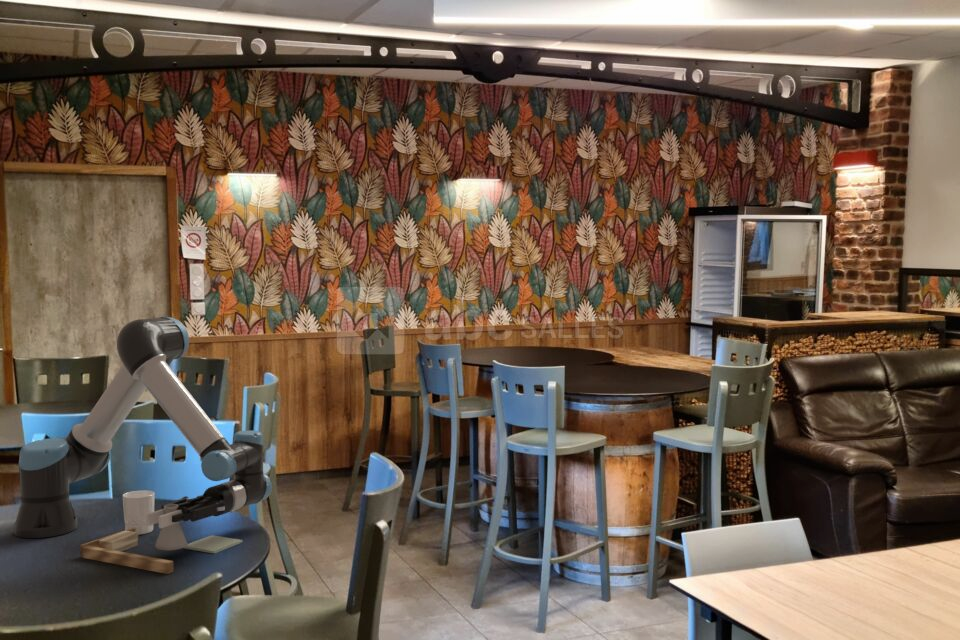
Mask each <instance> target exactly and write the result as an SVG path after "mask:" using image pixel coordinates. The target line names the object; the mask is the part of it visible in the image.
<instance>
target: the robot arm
mask: <svg viewBox="0 0 960 640" xmlns="http://www.w3.org/2000/svg"><path fill="white" fill-rule="evenodd" d="M189 345H190V337H189V331H188V329H187V327H186V326H185V325H184V323H182V322H181V321H180V320H179V319H177V318H174V317H170V316H169V317H168V316H159V317H153V318H142V319H141V318H139V319H135V320H132V321H129V322H128V323H126V324H125V325H124V326H123V327H122V328H121V329H120V330H119V333H118V335H117V338H116V350H117V353H118V358H119V359H120V361H121V363H122V365H121V366H120V369H118V371H117V373H116V374H115V376H113V379H112V380H111V381H110V383H109V384H108V386H107V387H106V389H105V391H103V393H102V394H101V396H100V398H99V399H98V400H97V402H96V404H95V405H94V406H93V408H92V409H91V411H90V412H89V413H88V416H87V417H86V418H85V420H84V421H83V422H82V423H77V424H75V425H73V427H72V428H71V430H70V432H69V433H68V434H67V436H66V437H65V438H60V437H52V438H51V437H50V438H43V439H38V440H35V441H32V442H29V443H26V444H25V445H23V446H22V447H21V448H20V451H19V455H18V456H19V458H18V459H19V460H18V467H19V470H18V471H19V490H20V491H19V493H20V494H19V495H20V505H19V508H18V511H17V515H16V519H15V522H14V525H13V535H14V536H15V537H19V538H24V539H42V538H50V537H56V536H61V535H65V534H68V533H72V532H73V531H74V530H77V528H78V518H77V515H76V512H75V510H74V507H73V505H72V502H71V499H70V484H72V483H75V482H78V481H81V480H84V479H87V478H91V477H94V476H96V475H97V474H99V473H101V472H102V471H103V470H105V468H106V467H107V466H108V465H109V463H110V460H111V457H112V454H111V451H112V450H111V449H112V448H113V442H112V438H113V437H114V436H115V434H116V433H117V431H118V430H119V429H120V427H121V426H122V424H123V422H124V421H125V419H126V418H127V417H128V416H129V414H130V413H131V411H132V410H133V408H134V406H135V405H136V404H137V402H138V401H139V399H140V398H141V397H142V395H143V394H144V393H145V391H146V390H147V391H149V393H150V394H151V396H152V397H153V398H154V400H155V401H156V402H157V403H158V404H159V406H160V407H161V408H162V410H163V411H164V412H165V413H166V415H167V416H168V417H169V419H170V420H171V421H172V422H173V424H174V425H175V427H176V428H177V430H179V432H180V434H182V436H184V438H185V440H187V441H188V443H189V445H190V446H191V447H192V448H193V449H194V451H195V452H196V453H197V454H198V456H199V457H200V458H201V462H200V467H201V472H202V474H203V476H204V477H205V478H206V479H208V480H210V481H212V482H220V481H224V480H228V479H229V478H232V477H233V478H234V479H232V480H229V481H226V482H222V483H220V484H216V485H213V486H210V487H208V488H206V490H205V491H204V492H203V493H202V494H201V495H197V496H196V497H193V498H189V496H183V497H181V498H180V499H179V498H178V499H177V500H174V501H170V502H168V503H165V504H162V505H161V506H160V507H161V509H158V510H154V512H152V513H148V514H146V526H150V525H153V526H154V525H155V524H156V525H157V524H158V528H159V529H161V528H163V527H166V526H169V525H172V524H175V523H178V522H179V523H181V522H182V521H183V522H188V521H190V522H197V521H200V520H202V519H207V518H210V517H219V516H222V515H225V514H227V513H229V514H230V513H231V514H232V513H233V512H234V511H236V510H239V509H242V508H244V507H248V506H251V505H255V504H259V503H260V502H262V501H264V500H266V499H267V498H269V496H270V495H271V493H272V490H273V484H272V482H271V479H270V477H269V476H268V475H267V474H265V473H264V446H265V445H264V438H263V433H262V432H261V431H258V430H240V431H236V432H235V433H234V435H233V441H232V443H231V444H230V443H229V441H228V440H227V438H225V437H224V435H223V434H222V433H221V432H220V430H219V429H218V428H217V426H216V425H215V424H214V422H213V421H212V420H211V419H210V417H209V416H208V415H207V413H206V412H205V411H204V409H203V408H202V407H201V406H200V404H199V403H198V402H197V400H196V399H195V398H194V397H193V395H192V394H191V393H190V391H189V390H188V389H187V388H186V386H185V385H184V384H183V383H182V381H181V380H180V378H179V377H178V376H177V375H176V373H175V372H174V371H173V369H172V368H171V367H170V365H171V364H172V362H173V361H174V360H178V359H180V358H181V357H183V356H184V355H185V354H186V352H187V351H188V349H189ZM167 504H177V505H179V507H178V508H177V511H174V512H171V513H167V514H165V508H164V505H167Z"/></svg>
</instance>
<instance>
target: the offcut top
mask: <svg viewBox="0 0 960 640" xmlns="http://www.w3.org/2000/svg"><path fill="white" fill-rule="evenodd" d="M122 531H123V532H121V531H119V532H120V533H118V532H117V533H118V534H115V533H114V534H115V535H112V534H111V535H112V536H110V537H107V538H105V539H102V540H100V541H99V548H104V549H110V550H115V549H118V548H120V547H122V546H125V545H127V544H130V543H132V542H135V541H137V542H138V541H139V535H138V532H132V531H124V530H122Z"/></svg>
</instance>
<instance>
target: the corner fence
mask: <svg viewBox="0 0 960 640" xmlns="http://www.w3.org/2000/svg"><path fill="white" fill-rule="evenodd" d="M123 531H132V532H136V530H135V528H130V529H127V530H126V529H124V530H121V531H119V532H116V533H112V534H109V535H106V536H103V537H100V538H97V539H94V540H91V541H88V542H85V543H82V544H80V546H79V547H80V549H79V550H80V551H79V552H80V558H83V559H86V560H87V559H88V560H93V561H99V562H103V563H108V564H109V563H110V564H114V565H119V566H125V567H130V568H135V569H140V570H146V571H151V572H155V573H160V574H165V575H170V574H172V573H174V560H169V559H164V558H157V557H152V556H149V555H148V556H147V555H141V554H136V553H131V552H125V551H115V550H110V549H104V548H99V541H100V540H102V539H105V538H107V537H110V536H112V535H115V534H118V533H120V532H123Z"/></svg>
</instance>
